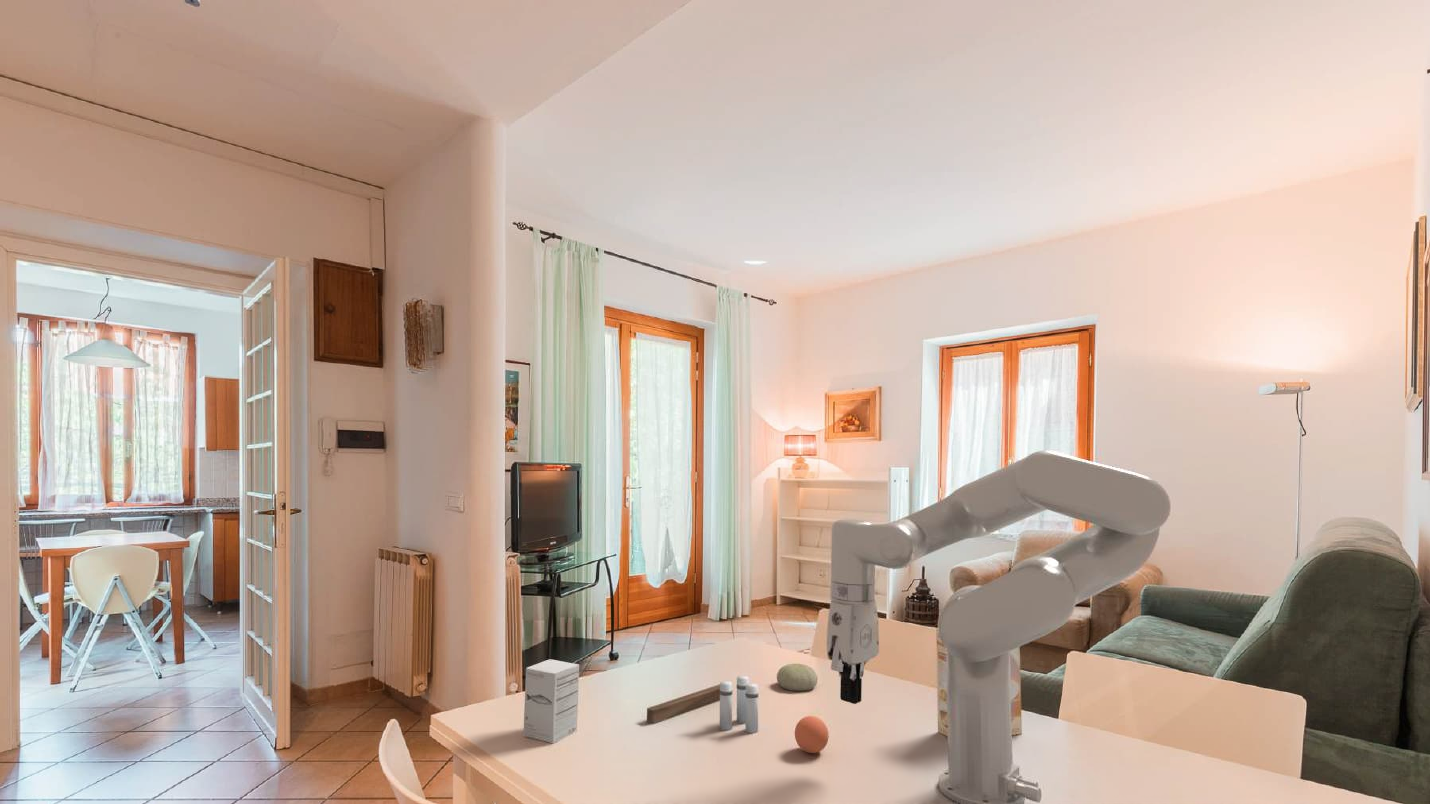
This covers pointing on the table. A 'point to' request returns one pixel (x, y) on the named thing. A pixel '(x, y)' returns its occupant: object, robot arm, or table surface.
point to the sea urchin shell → (797, 677)
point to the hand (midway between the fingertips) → (850, 700)
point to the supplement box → (551, 700)
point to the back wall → (683, 704)
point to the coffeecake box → (942, 689)
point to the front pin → (751, 708)
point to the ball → (811, 734)
